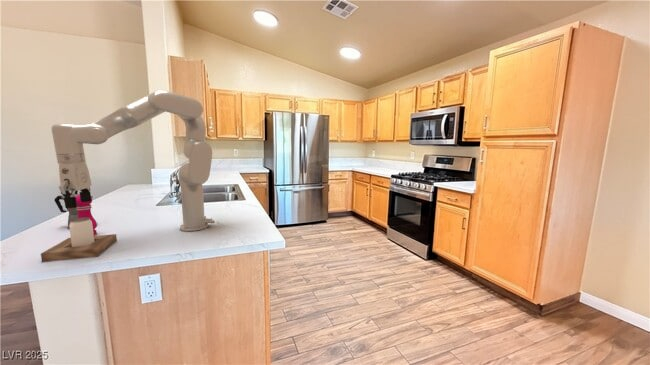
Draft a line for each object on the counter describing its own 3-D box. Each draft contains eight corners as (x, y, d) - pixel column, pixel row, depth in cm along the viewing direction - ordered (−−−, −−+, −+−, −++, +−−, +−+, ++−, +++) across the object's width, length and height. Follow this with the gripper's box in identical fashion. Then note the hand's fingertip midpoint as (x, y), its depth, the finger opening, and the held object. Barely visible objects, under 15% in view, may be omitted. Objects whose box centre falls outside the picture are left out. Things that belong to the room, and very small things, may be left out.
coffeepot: (101, 223, 136) (97, 188, 133) (89, 228, 127) (85, 191, 124) (65, 224, 133) (60, 189, 130) (51, 230, 124) (45, 192, 121)
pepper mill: (85, 239, 114) (79, 193, 111) (71, 237, 115) (65, 192, 112) (102, 233, 121) (97, 190, 118) (89, 232, 122) (84, 189, 119)
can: (99, 247, 105) (95, 218, 103) (80, 254, 99) (76, 223, 97) (88, 245, 107) (84, 216, 105) (68, 252, 101) (64, 221, 99)
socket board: (117, 241, 112) (116, 234, 112) (97, 256, 97) (96, 248, 97) (69, 244, 107) (68, 237, 107) (41, 261, 92) (40, 253, 92)
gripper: (70, 160, 90) (78, 209, 93) (96, 156, 106) (102, 198, 109) (41, 161, 88) (51, 211, 91) (72, 157, 104) (80, 200, 107)
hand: (79, 204), depth 100 cm, fingers open, 9 cm apart
